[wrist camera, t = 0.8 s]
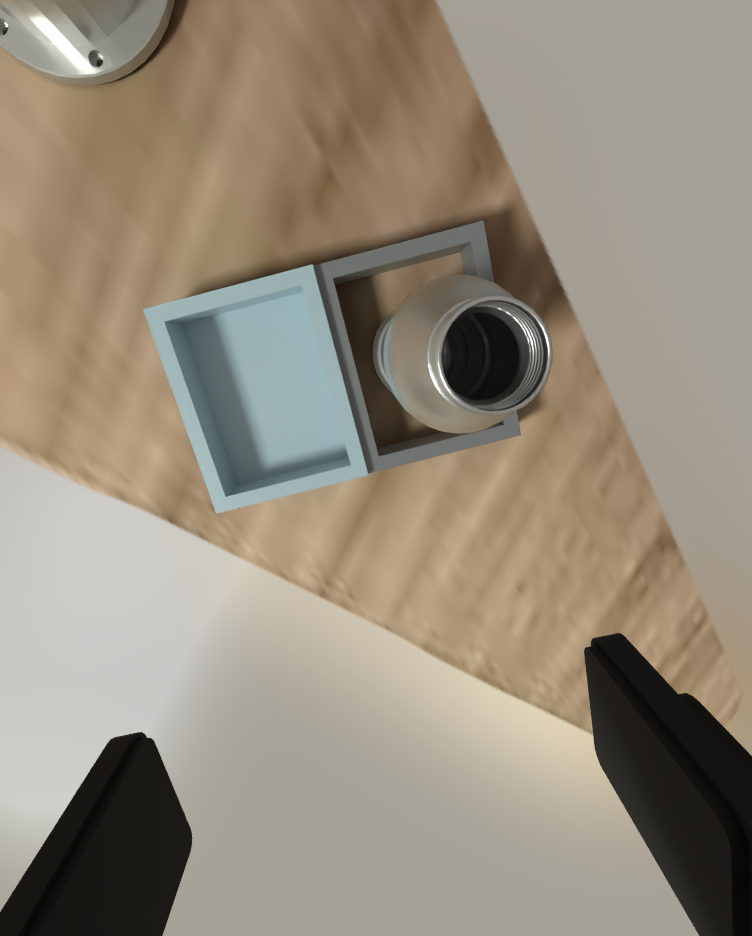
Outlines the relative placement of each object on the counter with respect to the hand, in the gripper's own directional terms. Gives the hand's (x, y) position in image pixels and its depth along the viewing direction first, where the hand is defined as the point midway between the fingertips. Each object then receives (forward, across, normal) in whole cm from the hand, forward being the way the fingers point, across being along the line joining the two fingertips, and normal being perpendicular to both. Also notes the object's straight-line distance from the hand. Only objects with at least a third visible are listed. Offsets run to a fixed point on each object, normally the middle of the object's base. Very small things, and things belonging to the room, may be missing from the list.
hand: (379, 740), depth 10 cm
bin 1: (+26, +6, -6) cm, 28 cm away
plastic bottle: (+27, -5, -7) cm, 28 cm away
